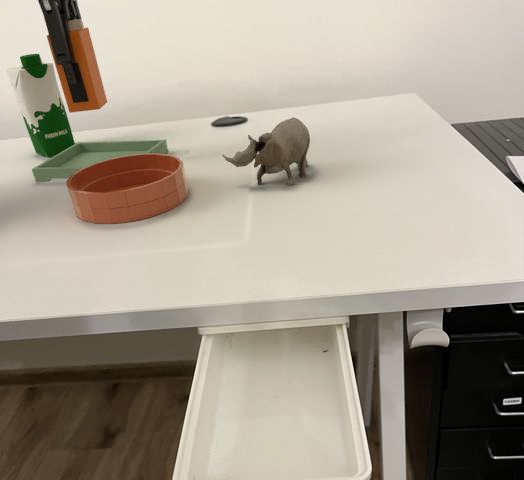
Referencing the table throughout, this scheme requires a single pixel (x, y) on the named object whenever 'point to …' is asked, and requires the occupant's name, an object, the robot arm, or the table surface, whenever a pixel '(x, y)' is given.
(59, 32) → the robot arm
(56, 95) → the milk carton
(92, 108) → the carton
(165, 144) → the tray
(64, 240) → the table surface
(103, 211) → the bowl
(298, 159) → the rhinoceros figurine
